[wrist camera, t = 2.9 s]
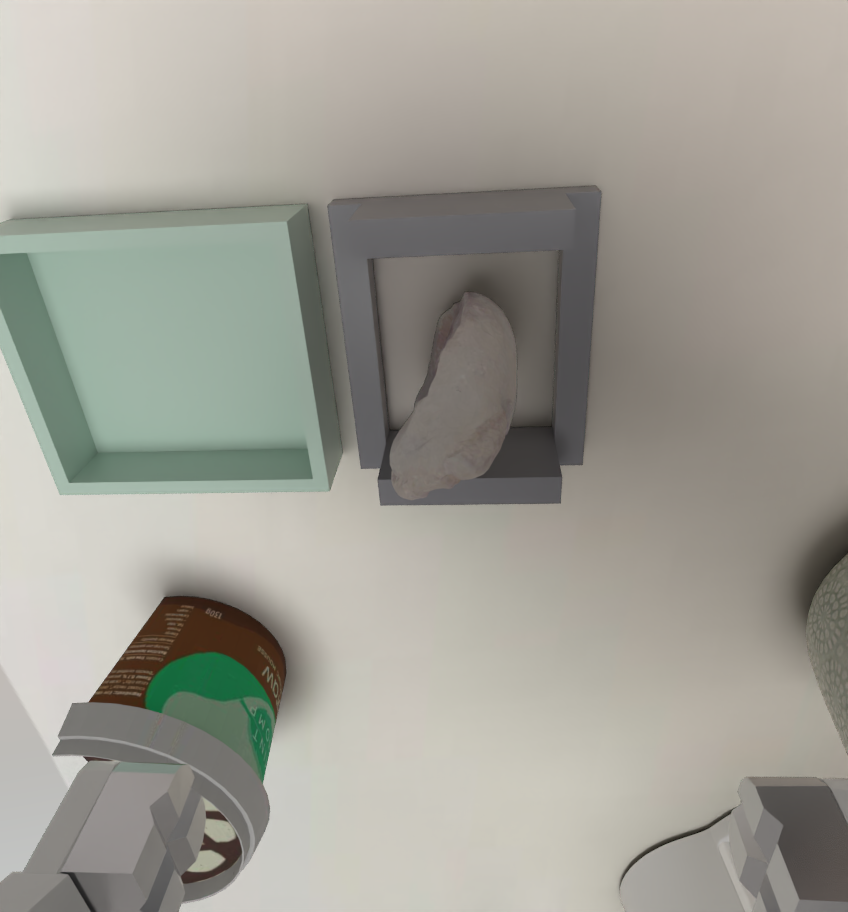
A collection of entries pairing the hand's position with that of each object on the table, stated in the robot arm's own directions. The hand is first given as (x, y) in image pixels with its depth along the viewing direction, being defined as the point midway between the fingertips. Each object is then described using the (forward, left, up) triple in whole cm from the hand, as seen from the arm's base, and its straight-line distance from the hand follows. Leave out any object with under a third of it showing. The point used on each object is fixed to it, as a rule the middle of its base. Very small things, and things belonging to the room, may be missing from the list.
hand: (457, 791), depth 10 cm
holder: (0, 0, -19) cm, 19 cm away
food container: (+13, +18, -20) cm, 30 cm away
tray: (+12, 0, -19) cm, 23 cm away
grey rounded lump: (0, 0, -20) cm, 20 cm away
